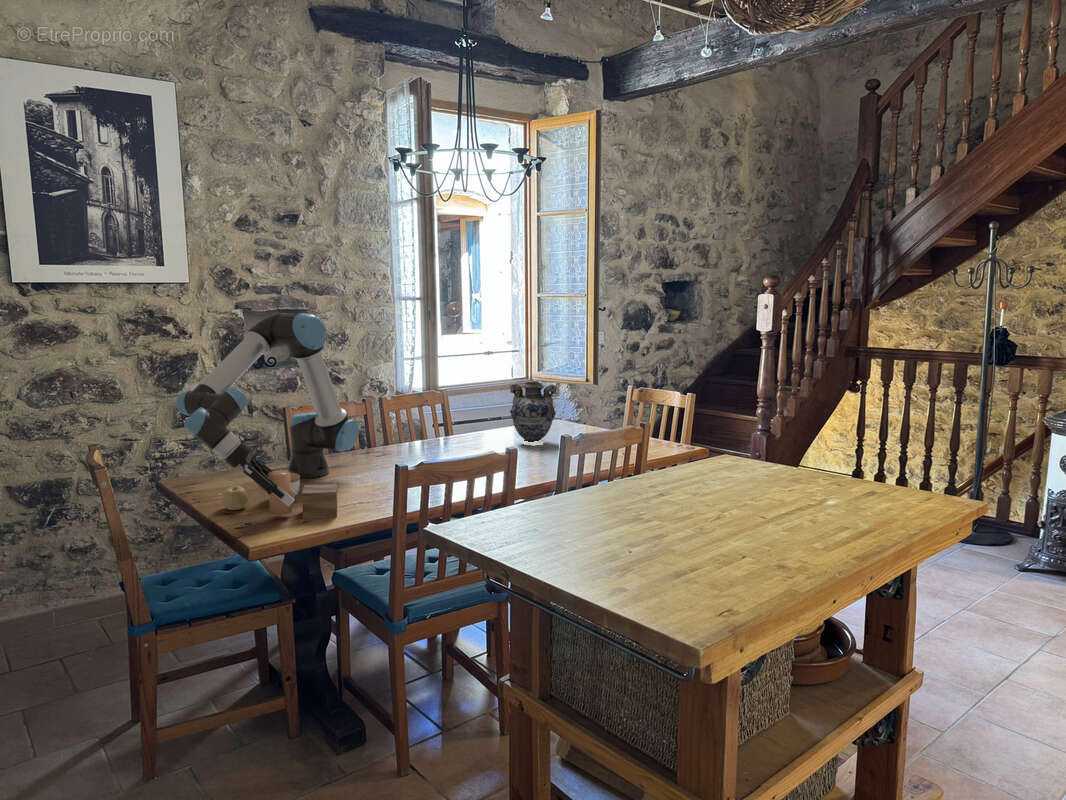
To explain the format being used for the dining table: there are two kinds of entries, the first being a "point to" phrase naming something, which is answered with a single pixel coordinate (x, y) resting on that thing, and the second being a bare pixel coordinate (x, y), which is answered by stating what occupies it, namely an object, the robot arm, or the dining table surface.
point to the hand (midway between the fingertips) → (292, 499)
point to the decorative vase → (532, 410)
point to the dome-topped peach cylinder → (283, 482)
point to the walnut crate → (319, 501)
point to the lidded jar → (295, 482)
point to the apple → (235, 498)
